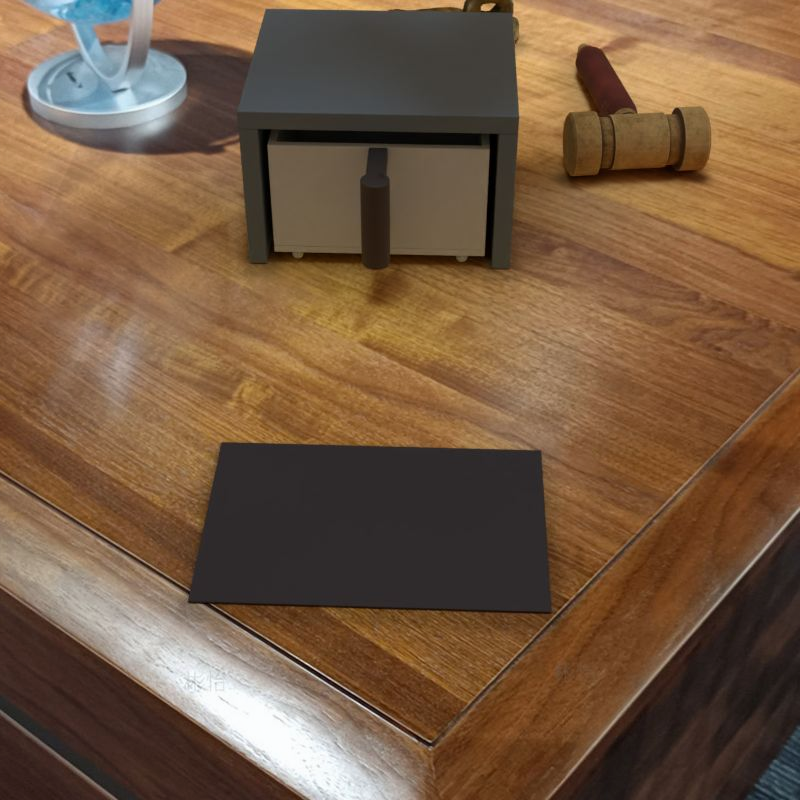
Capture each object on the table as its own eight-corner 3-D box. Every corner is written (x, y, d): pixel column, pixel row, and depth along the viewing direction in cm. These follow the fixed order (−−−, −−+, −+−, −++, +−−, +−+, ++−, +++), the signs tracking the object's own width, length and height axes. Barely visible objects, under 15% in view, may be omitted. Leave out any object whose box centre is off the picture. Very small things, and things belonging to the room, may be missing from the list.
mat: (187, 602, 67) (187, 601, 67) (221, 443, 76) (221, 441, 76) (551, 613, 67) (551, 611, 67) (541, 451, 76) (541, 450, 76)
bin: (266, 304, 87) (257, 184, 81) (292, 171, 100) (286, 60, 94) (484, 309, 87) (490, 189, 81) (482, 175, 100) (487, 64, 94)
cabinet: (249, 263, 91) (236, 111, 83) (274, 149, 103) (265, 8, 95) (509, 269, 90) (519, 116, 83) (504, 154, 102) (512, 12, 95)
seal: (359, 85, 113) (531, 66, 115) (359, 35, 110) (536, 16, 112) (338, 27, 119) (502, 10, 122) (337, -22, 116) (505, -38, 118)
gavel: (525, 23, 112) (643, 18, 113) (522, 75, 115) (638, 70, 116) (577, 128, 95) (715, 121, 96) (572, 187, 98) (707, 180, 99)
